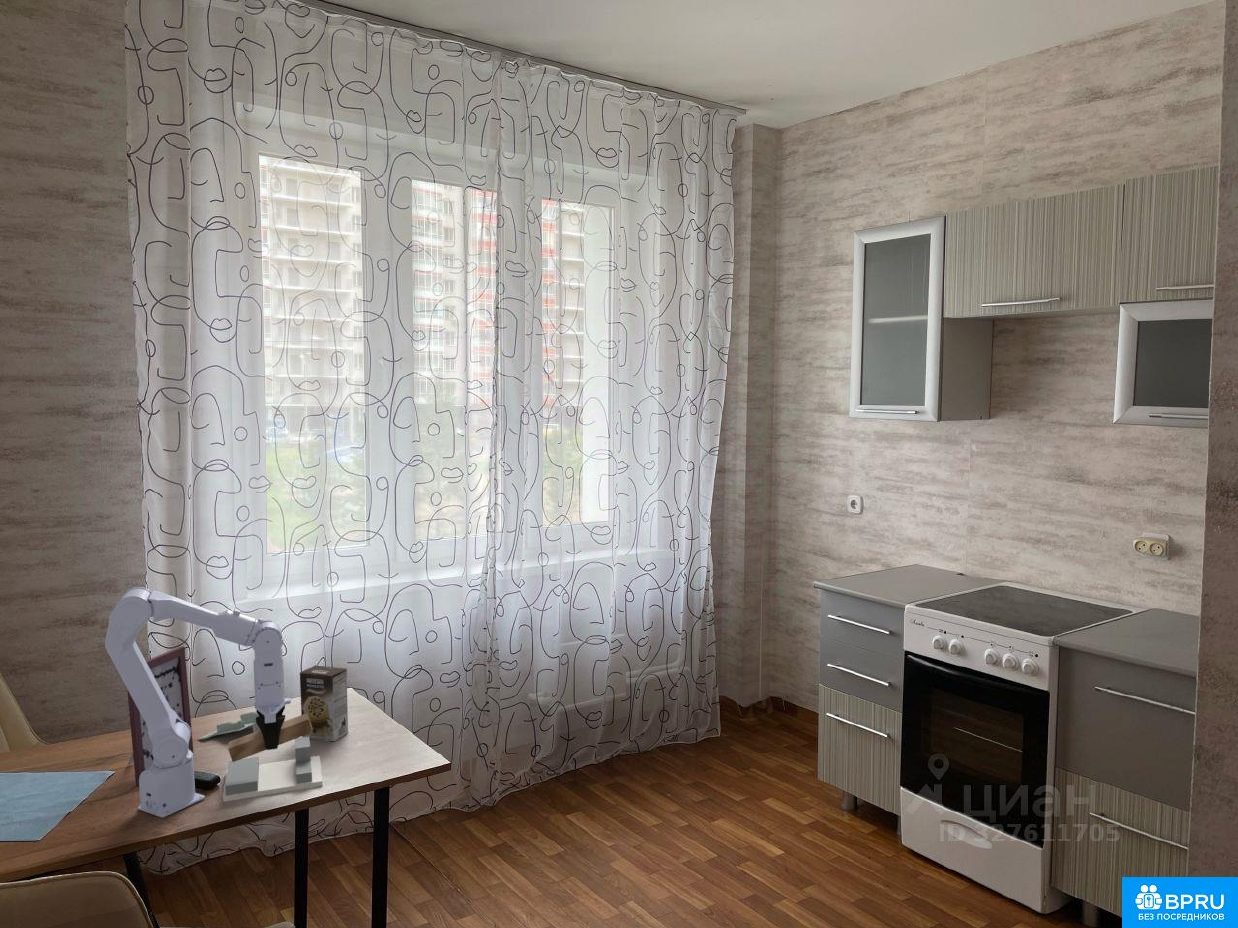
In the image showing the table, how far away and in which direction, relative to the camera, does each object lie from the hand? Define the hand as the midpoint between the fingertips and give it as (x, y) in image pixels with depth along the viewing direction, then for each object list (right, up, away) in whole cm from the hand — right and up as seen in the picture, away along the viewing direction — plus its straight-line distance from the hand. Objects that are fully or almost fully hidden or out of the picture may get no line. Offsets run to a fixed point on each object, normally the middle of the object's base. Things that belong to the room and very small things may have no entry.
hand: (272, 744), depth 183 cm
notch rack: (-1, -9, +4) cm, 9 cm away
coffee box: (+2, -7, +28) cm, 29 cm away
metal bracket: (-19, -7, +30) cm, 37 cm away
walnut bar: (0, 0, 0) cm, 0 cm away
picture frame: (-32, -9, +11) cm, 34 cm away
